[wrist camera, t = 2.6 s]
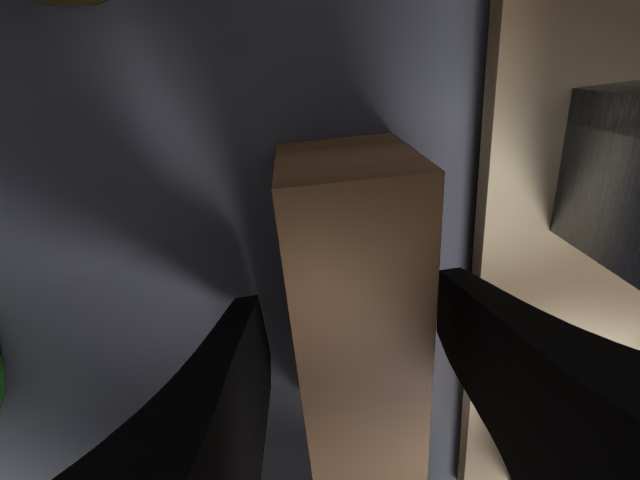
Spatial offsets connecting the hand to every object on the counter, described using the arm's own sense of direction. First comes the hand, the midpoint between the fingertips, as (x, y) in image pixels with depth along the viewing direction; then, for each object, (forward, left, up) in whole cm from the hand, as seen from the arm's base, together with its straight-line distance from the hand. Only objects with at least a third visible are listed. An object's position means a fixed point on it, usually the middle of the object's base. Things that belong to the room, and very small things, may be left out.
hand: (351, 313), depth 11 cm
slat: (0, 0, -2) cm, 2 cm away
